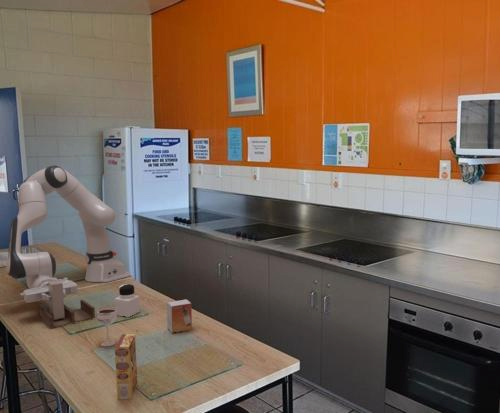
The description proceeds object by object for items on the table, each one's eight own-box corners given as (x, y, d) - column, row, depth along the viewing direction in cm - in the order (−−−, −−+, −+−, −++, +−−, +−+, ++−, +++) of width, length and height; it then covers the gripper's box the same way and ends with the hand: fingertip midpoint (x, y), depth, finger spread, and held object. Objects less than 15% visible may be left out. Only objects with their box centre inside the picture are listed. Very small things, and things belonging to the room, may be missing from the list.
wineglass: (107, 348, 163) (105, 315, 161) (93, 344, 166) (92, 311, 165) (122, 341, 168) (120, 309, 167) (108, 337, 172) (107, 305, 170)
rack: (83, 309, 201) (82, 299, 200) (95, 318, 191) (94, 307, 190) (40, 319, 190) (40, 308, 189) (50, 328, 180) (50, 317, 179)
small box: (171, 333, 175) (171, 306, 174) (167, 328, 180) (166, 301, 179) (192, 330, 179) (191, 303, 178) (187, 325, 184) (186, 298, 183)
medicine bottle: (139, 312, 198) (139, 284, 196) (128, 317, 192) (127, 288, 190) (126, 309, 201) (125, 282, 199) (114, 315, 195) (113, 286, 193)
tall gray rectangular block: (60, 314, 191) (58, 280, 189) (64, 317, 187) (62, 283, 185) (50, 316, 188) (48, 281, 186) (54, 319, 185) (52, 284, 183)
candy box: (132, 399, 131) (130, 346, 128) (116, 400, 130) (114, 346, 128) (137, 383, 139) (136, 333, 137) (123, 384, 139) (121, 333, 137)
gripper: (18, 285, 190) (27, 294, 179) (70, 276, 202) (82, 284, 192) (19, 301, 190) (28, 310, 180) (71, 291, 203) (82, 299, 193)
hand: (56, 296), depth 186 cm, fingers closed on tall gray rectangular block, 4 cm apart
